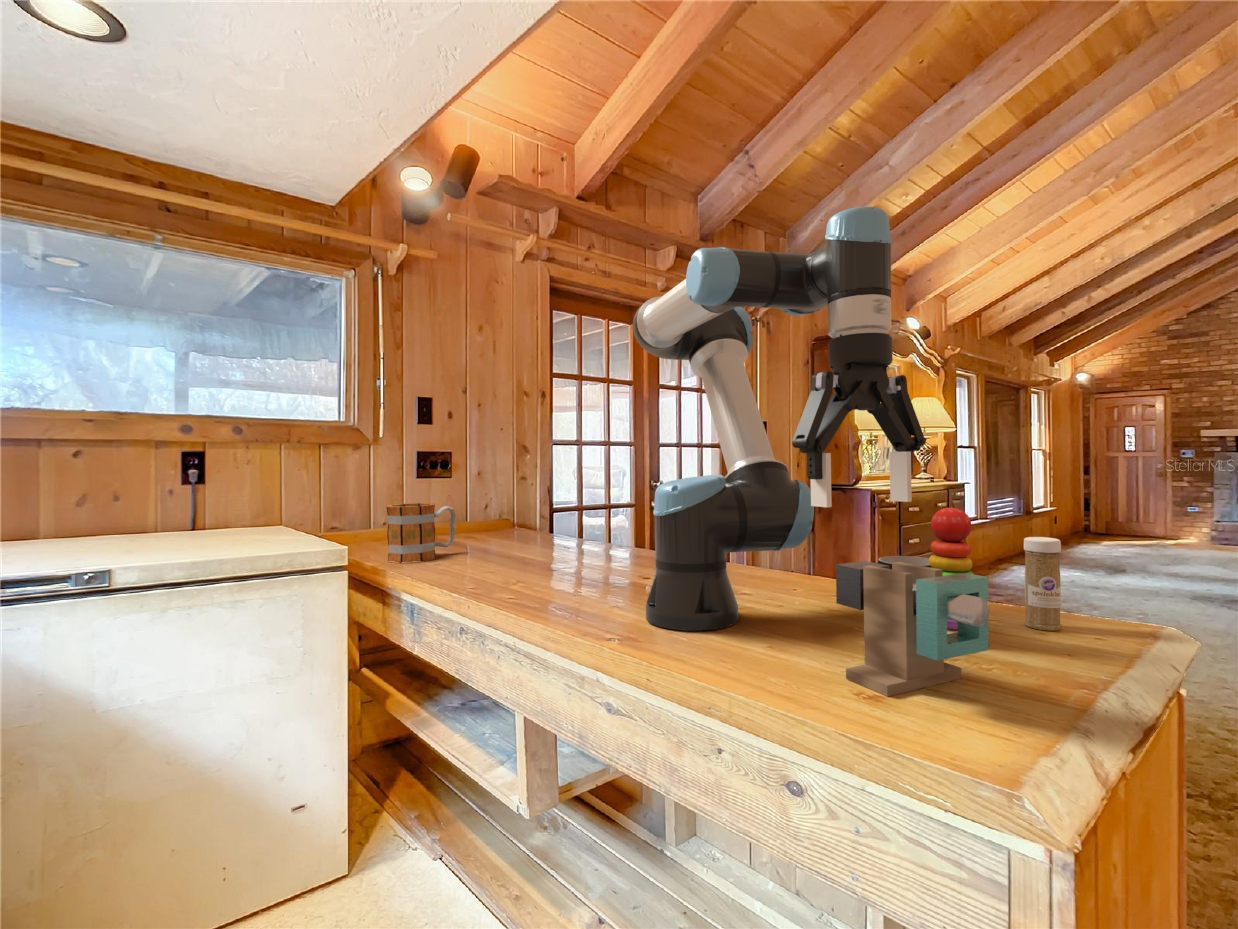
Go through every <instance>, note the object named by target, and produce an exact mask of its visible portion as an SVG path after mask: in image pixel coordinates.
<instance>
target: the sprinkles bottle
mask: <svg viewBox="0 0 1238 929" xmlns="http://www.w3.org/2000/svg"><path fill="white" fill-rule="evenodd" d="M1023 550H1024V554H1025V555H1024V558H1025V559H1024V560H1025V564H1024V604H1025V621H1024V624H1025V626H1027V627H1028V628H1031V629H1034V630H1040V631H1051V632H1052V631H1059V630H1062V624H1061V606H1062V603H1061V600H1062V599H1061V597H1062V594H1061V569H1060V567H1061V566H1060V564H1061V563H1060V559H1061V558H1060V555H1061V552H1062V541H1061V540H1060V539H1059V538H1054V537H1047V536H1028V537H1024V538H1023Z"/></svg>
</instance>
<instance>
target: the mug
mask: <svg viewBox="0 0 1238 929" xmlns="http://www.w3.org/2000/svg"><path fill="white" fill-rule="evenodd" d="M435 508H436V505H435V503H433V502H432V503H431V502H430V503H426V502H419V503H418V502H415V503H414V502H413V503H399V504H398V503H397V504H387V505H386V512H387V532H386V534H387V544H388V556H387V562H388V561H395V562H412V561H424V562H428V561H431V560H436V559H437V555H436V551H435V550H436V549H435V548H436V547H441V548H448V547H450V546H452V545H453V543H454V540H455V536H456V535H455V534H456V517H457V516H456V513H455V509H454V508H453V507H452V506H451V507H450V506H448V505H444V506H442V507H440V508H439V509H438V510H437V512H436V513H435ZM446 510H448V511H449V514H450V522H449V523H450V524H449V539H448V542H446V543H444V542H441V541H440V542H436V541H435V540H436V527H435V525H436V524H435V518H439V517H440V516H441V515H442V514H443V513H444V512H445V511H446Z"/></svg>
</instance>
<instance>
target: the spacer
mask: <svg viewBox="0 0 1238 929" xmlns="http://www.w3.org/2000/svg"><path fill="white" fill-rule="evenodd" d="M973 574H974V573H973ZM973 574H968V573H964V574H956V575H948V576H940V577H932V578H924V579H916V631H917V654H919V655H922V656H925V657H928V658H931V659H934V660H937V661H939V660H944V661H945V660H949V659H953V658H958V657H962V656H967V655H971V654H976V653H977V654H978V653H982V652H987V651H989V618H988V619H987V621H986V623H985V624H984V625H983V626H981V627H976V626H972V625H968V624H965V623H961V622H958V632H957V633H952V634H947V597H949V596H956V595H963V594H966V595H970V596H975V597H980V598H983V599H985V600H986V601H987V603H988V604H989V576H984V575H978V574H974V575H973Z"/></svg>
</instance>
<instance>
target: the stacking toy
mask: <svg viewBox="0 0 1238 929" xmlns="http://www.w3.org/2000/svg"><path fill="white" fill-rule="evenodd" d="M930 526H931V528H930V529H931V530H932V533H933V534H934V536H935V537H936V538H938V539H936V540H933V541H932V542H931V544H930V551H931V552H932V553H933V554H932V555H931V556H929V564H930V566H931V567H932V568H936V569H942V572H943V576H948V575H956V574H964V573H968V574H973V575H975V574H974V572H973V571H971V570H972V569H973V561H972V559H970V558H969V557H968V556H969V555H970V554H971V552H972V548H971V545H970V544H969V543H968V542H966V541H964V540H965V539H967V537H969V536H970V533H971V531H972V521H971V518H970V516H969V515H968V514H967V513H966V512H965V511H964V510H961V509H960V508H957V507H945V508H941V509H939V510H938V511H936V512H935V513H934V514H933V516H932V517H931V522H930ZM957 632H958V622H957V621H953V620H949V619H947V634H952V633H957Z"/></svg>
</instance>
